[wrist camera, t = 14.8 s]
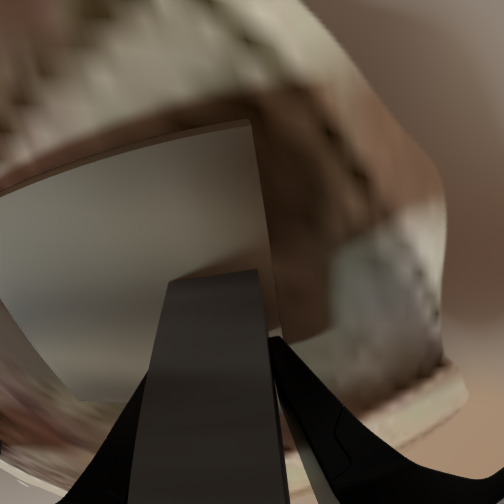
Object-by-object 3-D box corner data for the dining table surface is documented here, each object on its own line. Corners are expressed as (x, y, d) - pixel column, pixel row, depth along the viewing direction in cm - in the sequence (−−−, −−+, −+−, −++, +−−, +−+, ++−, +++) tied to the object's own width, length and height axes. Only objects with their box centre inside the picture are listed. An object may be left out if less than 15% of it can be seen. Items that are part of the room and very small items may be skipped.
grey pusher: (285, 367, 15) (312, 546, 7) (85, 380, 16) (51, 520, 8) (248, 118, 9) (354, 483, 1) (-22, 201, 9) (-156, 352, 1)
